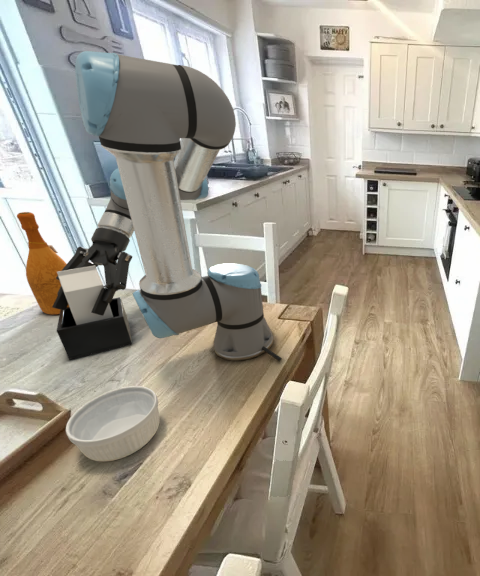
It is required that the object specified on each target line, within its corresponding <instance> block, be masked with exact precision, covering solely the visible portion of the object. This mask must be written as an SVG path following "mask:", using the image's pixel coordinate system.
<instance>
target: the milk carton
mask: <svg viewBox="0 0 480 576" xmlns="http://www.w3.org/2000/svg"><path fill="white" fill-rule="evenodd" d="M57 274H58V277H59V280H60V283H61V286H62V288H63V291H64V294H65V296H66V299H67V302H68V304H69V307H70V310H71V312H72V315H73V318H74V320H75V323H76V325H79V324H84V323H89V322H93V321H98V320H103V319H108V318H112V317H113V314H112V311H111V308H110V305H109V304H108V306H107V308H106V310H105V313H104V315H103V316H102V315H98V314H94V313H91V311H92V309H93V307H94V305H95V302H96V300H97V298H98V296H99V294H100V291H101V289H102V288H105V287H104V286H105V285H104V283H103V281H102V279H101V276H100V274H99V271H98V269H97V267H96V266H95V265H94V266H88V267H82V268H76V269H70V270H64V271H59V272H57Z"/></svg>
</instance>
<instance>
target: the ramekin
mask: <svg viewBox="0 0 480 576" xmlns="http://www.w3.org/2000/svg"><path fill="white" fill-rule="evenodd" d="M159 426H160V413H159V399H158V396H157V394H156V392H155V391H154V390H153V389H152V388H149V387H147V386H143V385H128V386H123V387H119V388H115V389H111V390H108V391H106V392H104V393H102V394H100V395H97V396H95V397H93V398H92V399H90V400H88V401H86V402H85V403H84V404H83V405H81V406H80V407H79V408H78V409H76V411H75V412H74V413H73V414H72V415H71V416H70V417H69V419H68V420H67V423H66V425H65V434H66V437H67V439H68V440H69V441H70V442H71V443H72V444H73V445H75V446H76V448H78V450H79V451H80V453H82V454H83V455H84V456H85V457H86V458H88V459H89V460H91V461H94V462H113V461H118V460H121V459H123V458H124V459H125V458H126V457H128V456H130V455H133V454H135V453H136V452H138V451H139V450H140V449H142V448H144V447H145V446H146V445H147V444H148V443H149V442H150V441H151V440H152V438H153V437H154V436H155V434H156V433H157V431H158V429H159Z"/></svg>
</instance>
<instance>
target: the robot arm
mask: <svg viewBox="0 0 480 576" xmlns="http://www.w3.org/2000/svg"><path fill="white" fill-rule="evenodd" d="M74 68H75V69H74V70H75V84H76V94H77V101H78V107H79V111H80V115H81V120H82V124H83V127H84V130H85V132H86V133H87V134H89V135H92V136H94V137H98V139H99V142H100V145H101V148H103V149H104V150H106V151H107V152H108V153H110V154H111V155H113V156H114V158H115V161H116V164H117V168H115V169H114V170H113V171H112V173H111V174H110V177H109V183H108V185H109V189H110V199H109V201H108V204H107V205H106V208H105V210H104V212H103V214H102V215H101V217H100V219H99V221H98V223H97V227H96V228H95V230H94V231H93V234H92V236H91V238H90V240H91V242H92V244H91V245H90V246H89V247H88V248H87V247H86V248H85V247H82V246H78V247H77V248H76V250H75V252H74V254H73V255H72V257H71V258H70V259H69V261H68V262H66V266H65V267H64V268H63V269H62V271H64V270H70V269H76V268H82V267H88V266H94V265H95V266H96V268H98V266H103V269H104V280H105V285H103V286H104V288H102V289H101V291H100V294H99V296H98V298H97V300H96V302H95V305H94V307H93V309H92V311H91V313H94V314H98V315H102V316H103V315H104V313H105V310H106V308H107V306H108V304H109V303H110V302H111V301H112V299H113V298H115V294H116V292H118V291H120V290H121V291H124V290H126V289H127V283H128V276H129V268H130V263H131V261H132V259H133V255H131V254H130V253H129V252H128V253H127V252H126V250H127V248H128V246H129V244H130V242H131V240H130V239H131V238H132V237H133V235H135V238H136V242H137V247H138V250H139V254H140V258H141V262H142V267H143V270H144V273H145V275H143V276H142V277H141V278H140V280H139V282H138V286H139V289H137V290H136V291H134V292H132V296H133V298H134V300H135V302H136V304H137V306H138V308H139V310H140V312H141V315H142V316H143V318H144V321H145V322H146V325H147V326H148V329H149V331H150V332H151V334H152V336H154V338H157V339H165V338H168V337H172V336H179V335H180V334H183V333H186V332H190V331H192V330H196V329H198V328H202V327H205V326H208V325H212V324H215V323H216V325H217V326H216V329H215V334H214V339H213V349H214V352H215V354H216V355H217V357H219V358H221V359H223V360H226V361H231V362H232V361H233V362H235V361H237V362H240V361H247V360H252V359H254V358H256V357H260V356H261V355H263V354H265V353H266V354H268V355H269V356H271V357H272V358H274V359H275V360H276V361H278V362H281V360H282V357H281V356H280V355H278V354H277V353H275V352H273V351H272V350H270V348H271V347H272V346H273V344H274V336H273V331H272V329H271V328H270V326H269V323H268V322H267V320H266V318H265V315H264V305H263V293H262V283H261V279H260V274H259V272H258V271H257V269H255V268H254V267H252V266H249V265H246V264H242V263H233V262H232V263H231V262H230V263H229V262H228V263H218V264H215V265H213V266H210V267H209V268H208V270H207V275H205V276H202V275H201V273H200V272H199V271H198V270H196V269H194V268H193V265H192V259H191V253H190V247H189V243H188V236H187V230H186V224H185V219H184V213H183V208H182V207H183V206H182V201H191V200H192V201H196V200H201V199H205V198H207V197H208V195H209V184H208V180H207V178H206V177H207V176H208V174H209V171H210V170H211V168H212V166H213V164H214V162H215V160H216V158H217V156H218V154H219V152H220V151H221V150H224V149H226V148H227V147H228V146H229V145H230V143H231V141H232V139H233V138H234V135H235V132H236V127H237V122H236V115H235V110H234V107H233V105H232V103H231V100H230V99H229V97H228V95H227V94H226V93H225V91H224V90H223V88H222V87H221V86H219V84H218V83H217V82H215V80H213V79H212V78H211V77H210V76H208V75H207V74H205V73H204V72H202V71H201V70H198V69H196V68H194V67H190V66H187V65H184V64H183V65H182V64H173V63H168V62H162V61H156V60H151V59H146V58H139V57H133V56H129V55H122V54H118V53H116V52H104V51H91V50H85V51H81V52H80V53H78V54H77V56H76V58H75V67H74ZM56 279H57V280H59V277H58V276H57V277H56ZM59 281H60V280H59ZM57 295H58V296H57V298H56V300H55V302H54V304H53V306H52V308H56V309H60V310H64V311H65V310H66V308H67V306H68V302H67V299H66V296H65V294H64V291H63V288H62V286H61V287H60V289H59V291H58V293H57Z"/></svg>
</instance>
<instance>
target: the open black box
mask: <svg viewBox="0 0 480 576" xmlns="http://www.w3.org/2000/svg"><path fill="white" fill-rule="evenodd" d="M109 305H110V308H111V311H112V314H113V317H112V318H108V319H103V320H98V321H93V322H89V323H84V324H79V325H76V323H75V320H74V318H73V315H72V312H71V310H70V307H67V308H66V310H65V311H64V310H60V314H58V321H57V326H56V333H57V336H58V337H59V340H60V342H61V344H62V347H63V349H64V351H65V353H66V356H67V358H68V360H69V361H73V360H76V359H80V358H84V357H88V356H92V355H95V354H100V353H103V352H108V351H111V350H115V349H119V348H124V347H127V346H132V345H133V341H132V334H131V327H130V321H129V318H128V316H127V313H126V309H125V306H124V303H123V300H122V297H121V296H120V297H113V299H112V301H111V302H110V303H109Z"/></svg>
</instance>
